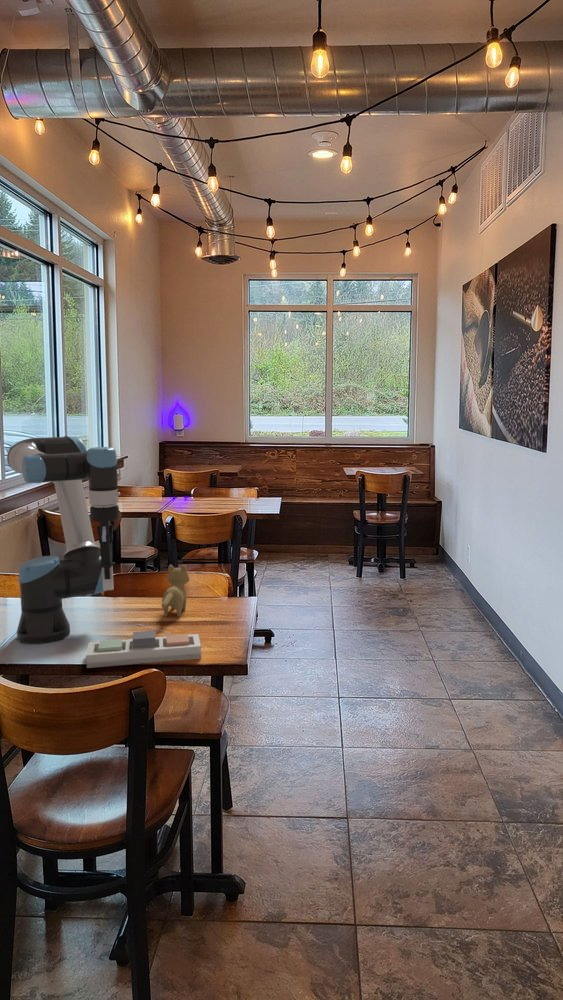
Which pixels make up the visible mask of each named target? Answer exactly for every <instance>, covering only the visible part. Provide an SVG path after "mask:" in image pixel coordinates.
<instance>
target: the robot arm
mask: <svg viewBox="0 0 563 1000" xmlns="http://www.w3.org/2000/svg"><path fill="white" fill-rule="evenodd" d="M6 460H7V463H8V466H9V468H11V470H13V471H14V472H15V473H18V474H19V475H20V474H21V475H22V477H23V479H24V482H26V484H41V483H50V482H51V483H53V484H54V490H55V494H56V499H57V505H58V510H59V515H60V519H61V521H60V522H61V526H62V530H63V531H62V532H63V536H64V542H65V546H66V550H65V552H64V553H63V556H62V559H60V557H59V556H57V555H43V556H38V557H35V558H32V559H29V560H27V561H25V562H23V563H22V564H21V565H20V566H19V569H18V579H17V580H18V583H19V596H20V597H19V598H20V608H21V613H20V616H19V617H20V618H19V622H18V625H17V629H16V639H17V641H18V642H20V643H24V644H31V645H32V644H33V645H34V644H37V645H39V644H47V643H52V642H53V643H54V642H56V641H60V640H62V639H64V638H66V637H68V636H69V635H70V634H71V626H70V623H69V620H68V618H67V616H66V613H65V610H64V608H63V600H64V599H70V598H71V599H72V598H76V597H83V596H89V595H90V596H91V595H93V596H94V595H96V594H101V593H105V592H107V591H114V572H113V571H114V569H113V567H114V566H115V565H116V562H115V561H113V560H114V558H113V540H114V538H113V537H114V535H113V532H114V525H113V524H111V522H113V521H116V520H118V519H120V508H119V507H120V506H119V505H118V503H119V496H121V492H120V491H118V490H119V487H118V486H119V484H118V457H117V452H116V449H115V447H111V446H94V447H90V448H88V449H87V447H86V445H85V443H84V441H83V440H82V439H81V438H80V437H78V436H69V435H68V436H67V435H64V436H57V437H56V436H55V437H54V436H53V437H31V438H26V439H23V440H21V441H18V442H17V443H15V444H13V445H12V446H11V447H10V448H9V449H8V452H7V455H6ZM83 480H88V499H89V505H91V506H90V507H89V508H88V503H87V498H86V494H85V493H86V492H85V489H84V484H83ZM91 521H93V522H99V525H97V528H96V529H97V531H96V532H97V534H98V543H99V545H96V542H95V537H94V534H93V533H94V532H93V528H92V522H91Z"/></svg>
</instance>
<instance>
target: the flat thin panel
mask: <svg viewBox="0 0 563 1000" xmlns="http://www.w3.org/2000/svg"><path fill="white" fill-rule="evenodd" d="M137 625H138V626H143V627H147V628H149V629H152V630H155V631H159V630H160V631H159V632H162V630H161V629H158V628H154V627H150V626H148V625H147V626H146V625H144V624H140V623H137V624H133V625H130V626H128V627H125V628H122V629H119V630H117V631H115V633H118V634H122V635H125V636H128V637H130V635H129V634H125V633H123V632H119V631H122V630H125V629H128V628H132V627H135V626H137ZM166 632H167V633H166V634H163V635H162V636H163V637H165V636H168V635H171V634H170V633H171V632H168V631H166ZM132 638H133V635H132Z"/></svg>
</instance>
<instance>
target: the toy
mask: <svg viewBox="0 0 563 1000" xmlns="http://www.w3.org/2000/svg"><path fill="white" fill-rule="evenodd" d="M167 582H168V583H170V587H168V588H167V589H166V590H165V591H164V594H163V595H162V598H161V608H162V609H163V615H164V617H165V618H166V617H168V616H169V613H168V610H169V607H170V608H171V610H176V614H177V615H176V616H177V618H180V617H182V610H186V608H187V591H186V589H185V585H187V583H188V582H190V575H189V574H188V568H187V565H186V564H183V565H181V567H175V566H173V564H169V565H168V574H167Z"/></svg>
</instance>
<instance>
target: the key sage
mask: <svg viewBox="0 0 563 1000" xmlns="http://www.w3.org/2000/svg"><path fill="white" fill-rule="evenodd" d="M122 640H123V638H121V639H106V640H99V642H100V643H99V647H98V652H108V651H121V650H122V649H123V644H122Z"/></svg>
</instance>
